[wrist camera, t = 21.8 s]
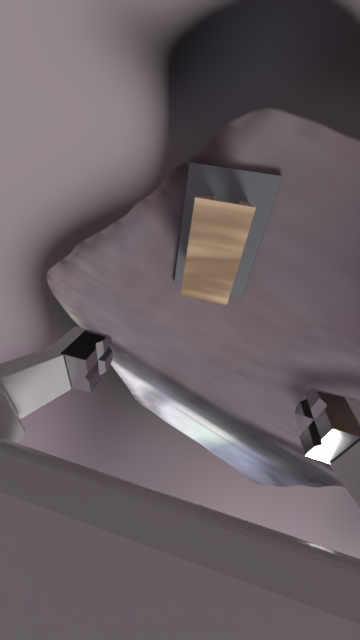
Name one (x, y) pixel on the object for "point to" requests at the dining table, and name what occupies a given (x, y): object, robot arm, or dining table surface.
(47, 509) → the robot arm
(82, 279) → the dining table surface
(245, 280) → the mat
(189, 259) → the stool
